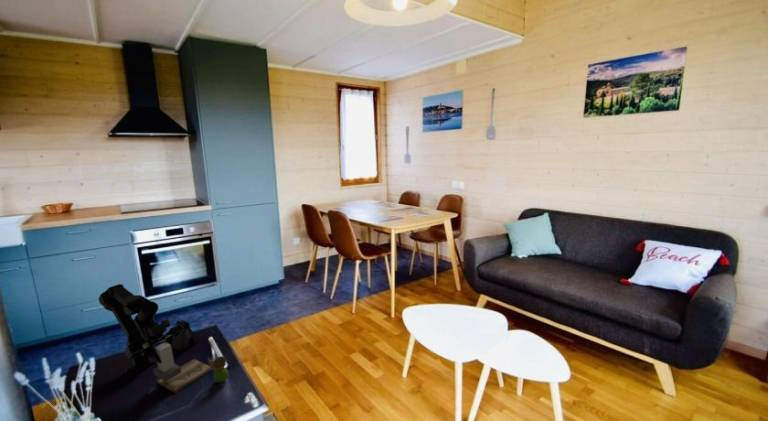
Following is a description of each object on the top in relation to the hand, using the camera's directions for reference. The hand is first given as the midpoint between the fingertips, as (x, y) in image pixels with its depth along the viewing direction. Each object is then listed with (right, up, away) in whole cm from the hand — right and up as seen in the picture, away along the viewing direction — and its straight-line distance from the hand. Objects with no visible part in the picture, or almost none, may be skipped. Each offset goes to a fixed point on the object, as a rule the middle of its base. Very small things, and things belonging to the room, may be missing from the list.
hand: (166, 359), depth 132 cm
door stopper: (-9, -6, +30) cm, 32 cm away
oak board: (+3, -10, +7) cm, 13 cm away
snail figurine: (+19, -10, +3) cm, 22 cm away
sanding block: (-1, -6, +2) cm, 7 cm away
